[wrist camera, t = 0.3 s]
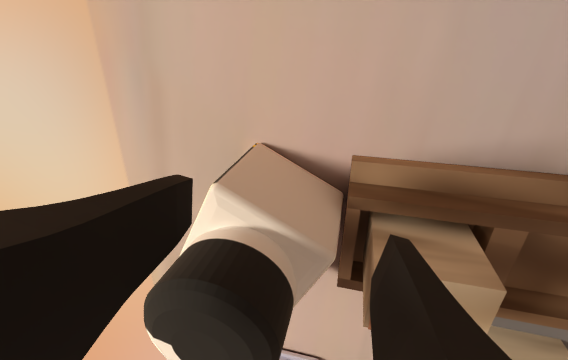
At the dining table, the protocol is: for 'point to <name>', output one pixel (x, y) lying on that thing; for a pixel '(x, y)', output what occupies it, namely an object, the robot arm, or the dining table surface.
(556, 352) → the birch block
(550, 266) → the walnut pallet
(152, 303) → the medicine bottle
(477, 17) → the dining table surface
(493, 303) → the block
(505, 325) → the charcoal mat
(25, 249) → the robot arm
